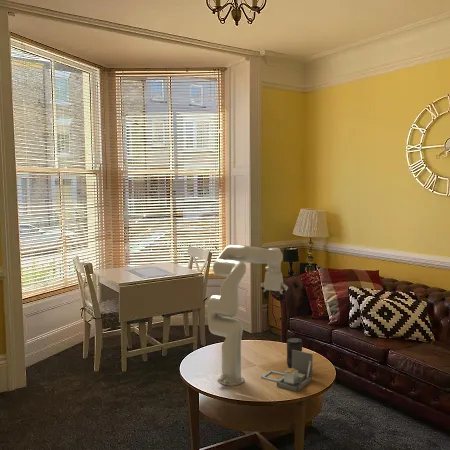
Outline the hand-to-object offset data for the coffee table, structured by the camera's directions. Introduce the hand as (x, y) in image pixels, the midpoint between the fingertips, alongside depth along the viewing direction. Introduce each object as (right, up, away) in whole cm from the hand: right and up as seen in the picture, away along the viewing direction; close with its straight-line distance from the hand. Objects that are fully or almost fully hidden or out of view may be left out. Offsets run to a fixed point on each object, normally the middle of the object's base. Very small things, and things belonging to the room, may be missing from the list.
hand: (273, 299), depth 274 cm
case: (+6, -35, -39) cm, 53 cm away
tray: (-3, -34, -31) cm, 47 cm away
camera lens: (+9, -33, -18) cm, 39 cm away
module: (+4, -35, -42) cm, 55 cm away
